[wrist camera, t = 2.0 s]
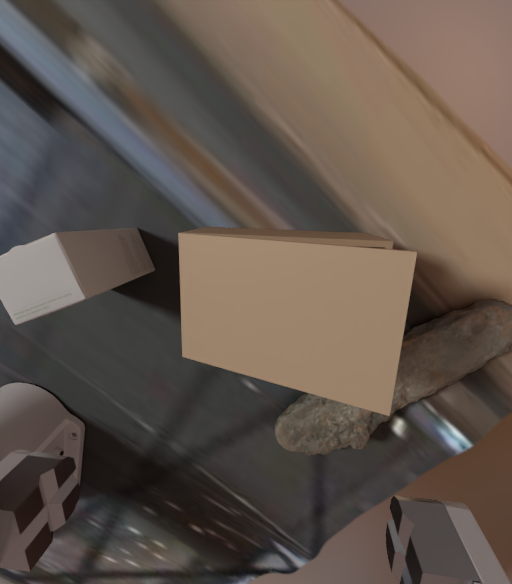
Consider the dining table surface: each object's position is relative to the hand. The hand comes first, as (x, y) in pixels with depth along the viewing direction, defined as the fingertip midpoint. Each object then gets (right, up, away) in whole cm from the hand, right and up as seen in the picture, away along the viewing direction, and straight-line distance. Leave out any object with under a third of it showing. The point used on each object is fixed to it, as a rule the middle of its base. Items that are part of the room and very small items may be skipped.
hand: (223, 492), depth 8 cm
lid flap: (+3, +3, +20) cm, 20 cm away
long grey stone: (+18, -7, +36) cm, 41 cm away
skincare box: (-17, +10, +35) cm, 40 cm away
